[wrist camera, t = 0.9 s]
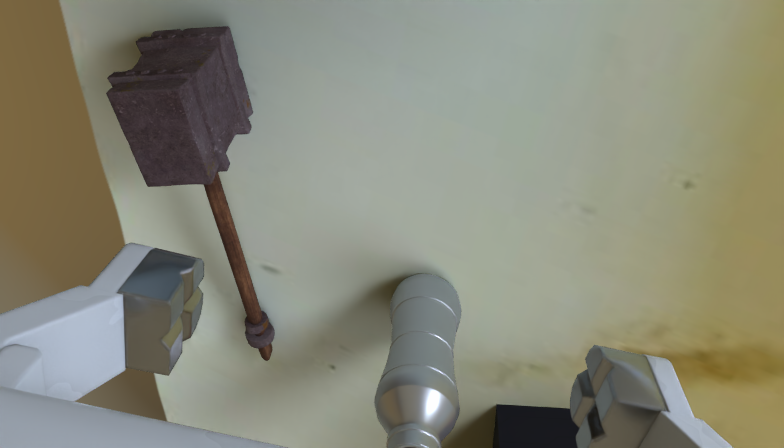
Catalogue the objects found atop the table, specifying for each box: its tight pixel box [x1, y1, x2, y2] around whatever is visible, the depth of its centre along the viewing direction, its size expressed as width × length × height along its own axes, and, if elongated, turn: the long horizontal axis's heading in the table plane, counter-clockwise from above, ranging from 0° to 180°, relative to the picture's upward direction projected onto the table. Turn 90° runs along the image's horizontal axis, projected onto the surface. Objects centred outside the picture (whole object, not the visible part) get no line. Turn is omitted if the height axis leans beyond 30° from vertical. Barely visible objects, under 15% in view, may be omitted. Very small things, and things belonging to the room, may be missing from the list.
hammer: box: [106, 26, 275, 361], centre depth 55 cm, size 7×33×10 cm, turn 5°
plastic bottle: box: [375, 274, 461, 448], centre depth 51 cm, size 6×7×20 cm
